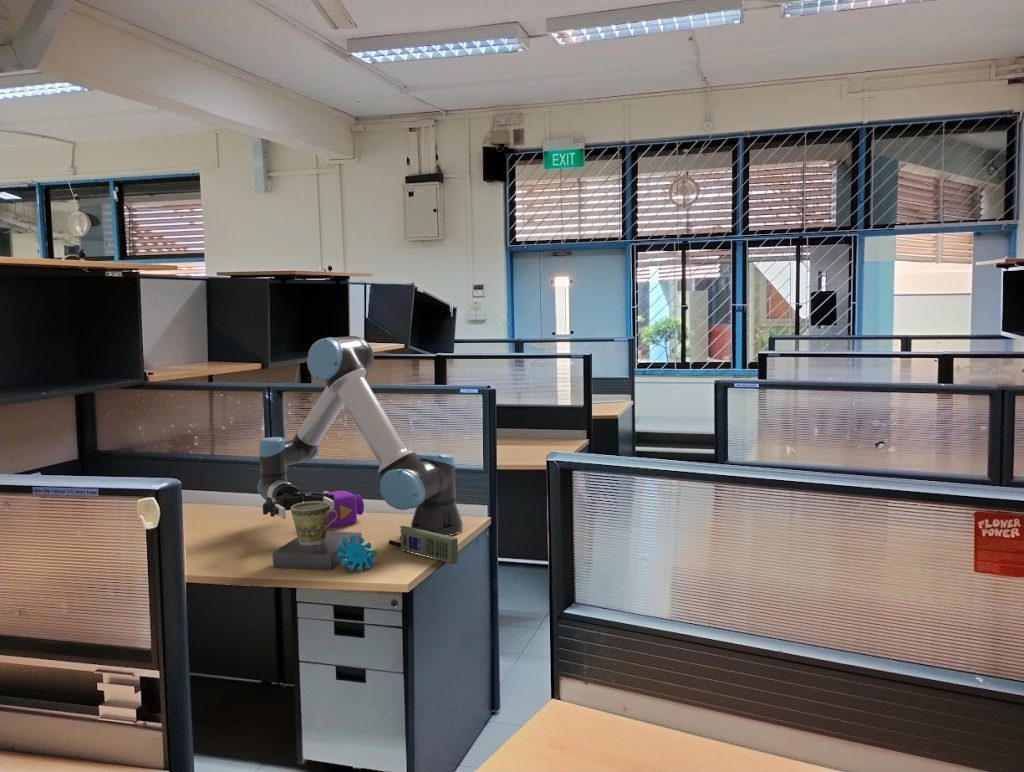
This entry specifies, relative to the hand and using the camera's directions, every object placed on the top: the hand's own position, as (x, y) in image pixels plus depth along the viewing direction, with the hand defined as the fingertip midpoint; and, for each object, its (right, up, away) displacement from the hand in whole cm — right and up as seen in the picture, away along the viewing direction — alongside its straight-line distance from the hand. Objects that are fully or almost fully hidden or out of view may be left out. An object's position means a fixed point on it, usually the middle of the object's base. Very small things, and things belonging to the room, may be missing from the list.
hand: (308, 509), depth 217 cm
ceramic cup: (+3, -8, -4) cm, 10 cm away
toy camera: (+3, -9, +30) cm, 32 cm away
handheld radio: (+31, -12, -3) cm, 33 cm away
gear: (+16, -13, -13) cm, 24 cm away
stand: (+4, -12, -4) cm, 13 cm away
